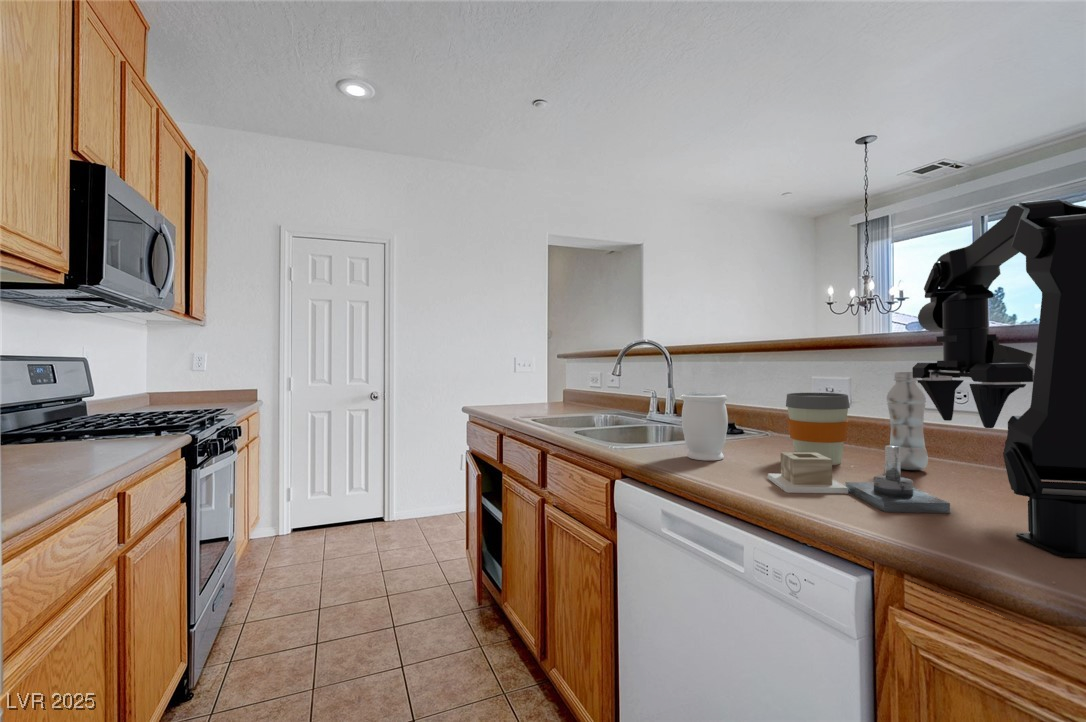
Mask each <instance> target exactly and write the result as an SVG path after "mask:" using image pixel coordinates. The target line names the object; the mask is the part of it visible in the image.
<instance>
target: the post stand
mask: <svg viewBox="0 0 1086 722" xmlns="http://www.w3.org/2000/svg"><path fill="white" fill-rule="evenodd" d="M884 469H885V472H884V473H885V475H874V476H873V482H872V481H866V482H865V481H845V486H846V487H848V494H851V495H853V496H855V497H857V498H859V499H860V500H862V501H864V502H866V503H867V504H869V505H871V506H873V507H875V508H876V509H878V510H880V511H881V512H883V513H917V514H918V513H922V514H926V513H927V514H930V513H931V514H951V502H949V501H945V500H943V499H941V498H939V497H937V496H934V495H932V494H929V493H927V492H924V491H922V490H921V489H917V488H915V487H914V481H913V479H910V478H907V477H903V476H901V472H902V471H901V470H902V469H900V447H898V446H889V445H884Z"/></svg>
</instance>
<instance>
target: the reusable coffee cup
mask: <svg viewBox="0 0 1086 722" xmlns="http://www.w3.org/2000/svg"><path fill="white" fill-rule="evenodd" d="M785 407H787V413H788V418H787V425H788V432H789V437H790V439H792V445H793V449H794V450H793V451H794V452H816V453H819V454H821V455H823V456H825V457H828V458H830V459H832V466H837V465H841V464H842V461H843V452H844V451H843V450H844V444H845V442H846V441H847V437H848V430H849V428H848V427H849V420H848V412H849V411H848V410H849V409H850V401H849V395H848V394H847V393H846V394H845V393H836V392H791V393H787V394H786V401H785Z"/></svg>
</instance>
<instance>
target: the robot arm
mask: <svg viewBox="0 0 1086 722" xmlns="http://www.w3.org/2000/svg"><path fill="white" fill-rule="evenodd" d="M1020 253H1021V254H1022V255H1023V256H1025V272H1026V273H1027V275H1028V276H1029V277H1030V278H1031V280H1032V281H1033V283H1034V284H1035V285H1036V287H1038V289H1039V291H1040V293H1041V303H1040V314H1039V324H1038V333H1037V342H1036V352H1035V354H1034V353H1033V352H1032V353H1031V352H1029V351H1025V350H1022V349H1019V348H1015V347H1011V346H1008V345H1004V344H1000V343H999V337H998V335H997V334H996V333H995V334H992V333H991V334H990V323H989V322H990V321H989V320H990V318H989V317H990V316H989V315H990V314H989V313H990V312H989V299H992V298H993V297H995V296H994V295H995V294H994V292H992V290H989V288H990V286H991V285H992V284H993V282H994V281H995V280H996V279H997V278H999V276H1000V275H1001V268H1000V267H1001V266H1002V265H1003V264H1004V263H1006V262H1007V261H1009V260H1011V259H1012V258H1013V257H1015V256H1016V255H1018V254H1020ZM923 291H924V298H925V299H929V300H930V302H927V303H926V304H924V305H923V306H922V307H921V309H920V310H919V312H918V314H917V320H918V323H919V325H920V327H922V329H924V330H926V331H928V332H932V333H941V332H942V335H940V336H936V343H942V351H943V352H942V354H943V360H937V361H935V362H932V361H931V362H930V361H929V362H917V363H916V364H915V365H914V366H913V367H912V371H911V372H913V378H917V381H916V382H917V383H918V384H920V385H921V387H922V388H923V390H924V391H925V392H926V394H927V395H928V397H929V398H930V400H931V401H932V404H934V407H935V408H936V410H937V412H938V413H939V414H940V416H941V418H942V420H943V421H946V422H947V421H949V422H950V421H952V420H953V416H954V410H955V409H954V407H955V400H956V399H955V398H956V390H957V389H958V388H959V387H960V385H962V383H963V382H964V379H956V378H970V379H971V380H972V381H973V382H975V383H969V388H970V391H971V393H972V397H973V400H974V403H975V406H976V409H977V412H978V415H979V418H980V421H981V423H982V425H983V428H984V429H994V427H995V426H996V423H997V421H998V419H999V417H1000V414H1001V412H1002V410H1003V407H1004V405H1005V404H1006V401H1007V400H1008V398H1009V396H1010V395H1011V394H1013V393H1014V392H1016V391H1017V390H1019V389H1022V388H1023V389H1024V388H1025V387H1026V386H1027V383H1032V391H1031V403H1030V406H1029V408H1028V409H1027V410H1026V411H1025V412H1024V413H1023V414H1022V415H1011V417H1010V418H1009V419H1008V420H1007V435H1006V439H1005V442H1004V448H1003V452H1002V457H1003V461H1004V466H1005V470H1006V475H1007V479H1008V483H1009V485H1010V489H1011V490H1012V491H1013V494H1015V495H1016V496H1023V497H1028V501H1027V522H1028V523H1027V524H1028V530H1027V531H1028V532H1026V533H1025V532H1016V534H1015V535H1016V538H1018V539H1020V540H1022V541H1025V542H1026V543H1029V544H1032V545H1034V546H1036V547H1038V548H1040V549H1042V550H1044V551H1048V552H1050V553H1052V554H1054V555H1056V556H1059V557H1064V558H1065V557H1066V558H1086V206H1083V205H1078V204H1073V203H1071V202H1069V201H1067V200H1060V199H1058V198H1055V199H1053V198H1052V199H1043V200H1042V199H1041V200H1032V201H1022V202H1019V203H1017V204H1014V205H1011V206H1010V207H1009V208H1008V209H1007V211H1006V214H1005V216H1004V217H1003V218H1001V219H1000V220H999V221H997V222H996V223H995V224H994V225H992V226H991V227H990V228H989V229H987V230H986V231H985V232H984V233H983V234H982V235H980V236H979V237H978V238H977V239H975V240H974V241H973V242H972V243H971V244H970V245H969V244H968V245H967V246H964V247H960V248H956V249H951V250H950V251H947V252H945V253H944V254H941V255H940V256H939V258H937V260H936V261H935V262H934V263H933V266H932V268H931V270H930V272H929V275H928V278H927V280H926V282H925V284H924V287H923ZM1034 355H1035V360H1034V361H1035V362H1034V368H1033V367H1032V366H1031V365H1030V364H1031V362H1032V361H1033V357H1034ZM953 378H954V379H953ZM976 382H977V383H976Z"/></svg>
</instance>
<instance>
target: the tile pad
mask: <svg viewBox="0 0 1086 722" xmlns="http://www.w3.org/2000/svg"><path fill="white" fill-rule="evenodd" d="M767 480H769V481H770V482H771V483H773V484H775V485H776V486H777V487H778V488H780V489H781V490H782V491H783V492H785V493H787V494H790V493H791V494H793V493H794V494H796V493H797V494H845V495H846V494H847V495H848V494H849V492H848V487H846V485H844V484H842V483H841V482H838V481H836V480H835V479H833V478H832V485H794V484H792V483H791V482H789V481H788V480H786V479H785V478H783V477H782V476H781V473H771V472H770V473H767Z"/></svg>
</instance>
